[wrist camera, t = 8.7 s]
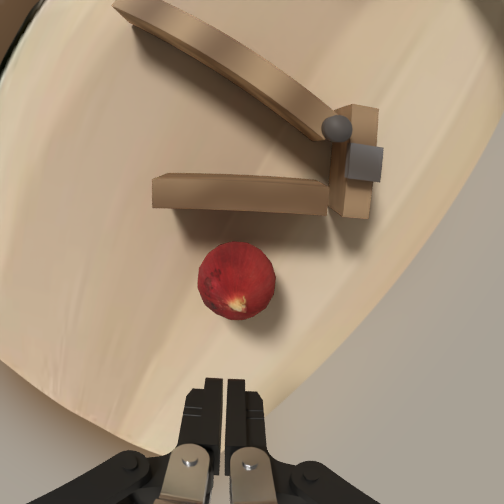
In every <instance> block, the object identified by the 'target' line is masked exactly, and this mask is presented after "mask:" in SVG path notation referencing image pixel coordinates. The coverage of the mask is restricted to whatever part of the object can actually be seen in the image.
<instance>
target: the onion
mask: <svg viewBox="0 0 504 504" xmlns="http://www.w3.org/2000/svg"><path fill="white" fill-rule="evenodd" d="M275 280H276V276H275V273H274V269H273V266H272V263H271V262H270V260H269V259H268V258H267V257H266V255H265V254H264V253H263V252H262V251H261V250H260V249H258V248H257V247H255V246H253V245H251V244H249V243H246V242H236V241H232V242H228V243H225V244H221V245H219V246H218V247H216V248H215V249H213V250H212V251H211V252H209V253H208V254H207V256H206V257H205V259H204V261H203V262H202V264H201V266H200V267H199V274H198V290H199V292H200V295H201V297H202V300H203V302H204V304H205V305H206V306H207V307H208V308H209V309H211V310H212V311H213V312H214V313H216V314H218V315H220V316H223V317H225V318H227V319H230V320H244V319H247V318H250V317H253V316H255V315H256V314H258V313H259V312H261V311H262V310H264V309H265V308H266V307H267V305H268V303H269V302H270V300H271V298H272V296H273V295H274V289H275Z"/></svg>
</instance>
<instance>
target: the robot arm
mask: <svg viewBox="0 0 504 504" xmlns="http://www.w3.org/2000/svg"><path fill="white" fill-rule="evenodd" d="M222 409H223V379H221V378H206V379H205V386H204V389H194V388H193V389H192V390H191V391H190V393H189V394H188V395H187V396H186V401H185V407H184V411H183V417H182V422H181V428H180V433H179V439H178V444H177V446H176V448H175V449H174V450H173V451H172V452H170V453H169V454H167V455H164V456H159V457H150V458H146V457H145V456H144V455H143V454H141V453H139V452H137V451H131V450H127V451H123V452H120V453H118V454H117V455H115V456H113V457H112V458H110V459H108V460H107V461H105V462H103V463H102V464H100V465H98V466H97V467H95V468H93V469H91V470H90V471H88V472H86V473H85V474H83V475H81V476H79V477H77V478H76V479H74V480H72V481H70V482H68V483H66V484H65V485H63V486H61V487H59V488H57V489H55V490H53V491H51V492H49V493H47V494H46V495H43V496H41V497H39V498H37V499H35V500H33V501H31V502H29V503H27V504H210V501H211V494H212V488H213V479H214V475H219V467H220V448H221V429H222ZM225 476H230V491H229V492H230V504H380V503H378V502H377V501H375V500H373V499H372V498H371V497H369V496H368V495H366V494H364V493H363V492H362V491H360V490H359V489H357V488H356V487H354V486H353V485H351V484H350V483H348V482H347V481H345V480H344V479H343V478H341V477H340V476H338V475H337V474H336V473H334V472H333V471H331V470H330V469H329V468H327V467H326V466H325V465H323V464H322V463H319V462H316V461H305V462H302V463H300V464H298V465H296V466H295V465H290V464H286V463H282V462H279V461H277V460H275V459H274V458H273V457H272V456H271V455H270V454H269V452H268V450H267V447H266V436H265V422H264V412H263V400H262V398H261V397H260V395H259V394H258V392H252V391H245V380H244V379H228V386H227V408H226V432H225Z"/></svg>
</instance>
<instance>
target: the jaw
mask: <svg viewBox="0 0 504 504" xmlns="http://www.w3.org/2000/svg"><path fill="white" fill-rule="evenodd" d="M111 6H112V7H113V8H114V9H116V10H117V11H118V12H119V13H120V14H121V15H122V16H123V17H124V18H125V19H126V20H127V21H128V22H129V23H131V24H133V25H135V26H137V27H139V28H141V29H143V30H145V31H147V32H149V33H151V34H152V35H154V36H156V37H158V38H160V39H162V40H164V41H165V42H167V43H169V44H171V45H173V46H174V47H176V48H178V49H180V50H181V51H183V52H185V53H187V54H188V55H190V56H192V57H193V58H195V59H197V60H198V61H200V62H202V63H203V64H205V65H206V66H208V67H210V68H211V69H213V70H214V71H216V72H218V73H219V74H221V75H222V76H224V77H225V78H227V79H228V80H230V81H231V82H233V83H234V84H236V85H237V86H239V87H240V88H242V89H243V90H245V91H246V92H248V93H249V94H250V95H252V96H253V97H255V98H256V99H258V100H259V101H260V102H262V103H263V104H265V105H266V106H267V107H269V108H270V109H271V110H273V111H274V112H275V113H277V114H278V115H279V116H281V117H282V118H283V119H285V120H286V121H287V122H289V123H290V124H291V125H293V126H294V127H295V128H296V129H298V130H299V131H300V132H301V133H303V134H304V135H305V136H306V137H308V138H309V139H310V140H311V141H321V140H326V139H327V140H328V141H330V142H345V141H347V140H348V139H349V138H350V137H351V135H352V131H353V128H352V124H351V122H350V121H349V119H348V118H346V117H345V116H342V115H338V114H337V113H335V112H334V111H333V110H332V109H331V108H330V107H328V106H327V105H326V104H325V103H323V102H322V101H321V100H320V99H319V98H317V97H316V96H315V95H313V94H312V93H311V92H310V91H308V90H307V89H306V88H305V87H303V86H302V85H301V84H299V83H298V82H297V81H295V80H294V79H293V78H291V77H290V76H288V75H287V74H286V73H284V72H283V71H282V70H280V69H279V68H277V67H276V66H274V65H273V64H272V63H270V62H269V61H267V60H266V59H264V58H263V57H261V56H260V55H258V54H257V53H255V52H254V51H252V50H251V49H249V48H248V47H246V46H244V45H243V44H241V43H240V42H238V41H236V40H235V39H233V38H231V37H230V36H228V35H226V34H225V33H223V32H221V31H220V30H218V29H216V28H214V27H213V26H211V25H209V24H207V23H205V22H204V21H202V20H200V19H198V18H196V17H194V16H192V15H190V14H189V13H187V12H185V11H183V10H181V9H179V8H177V7H175V6H172V5H170V4H168V3H166V2H164V1H162V0H116V1H115V2H114V3H113V4H112V5H111Z"/></svg>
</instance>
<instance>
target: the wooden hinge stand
mask: <svg viewBox="0 0 504 504" xmlns="http://www.w3.org/2000/svg"><path fill="white" fill-rule="evenodd" d="M334 112H335V113H337V114H338V115H342V116H345V117H346V118H348V119H349V121H350V122H351V124H352V128H353V131H352V135H351V137H350V138H349V139H348V140H347V141H345V142H332V151H331V163H330V175H329V186H326V185H324V184H322V183H320V182H318V181H316V180H311V179H299V178H286V177H271V176H253V175H231V174H197V173H167V174H164V175H162V176H159V177H157V178H154V179H152V208H176V209H210V210H236V211H257V212H276V213H293V214H309V215H324V216H326V215H327V206H329V207H330V208H332V209H333V210H334V211H336V212H337V213H338V214H340V215H341V216H342V217H350V218H362V219H368V217H369V210H370V202H371V194H372V186H373V181H374V182H380V179H381V170H382V160H383V148H381V147H376V144H377V130H378V112H379V109H377V108H372V107H367V106H361V105H356V104H351V105H348V106H345V107H342V108H339V109H336V110H334Z"/></svg>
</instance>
